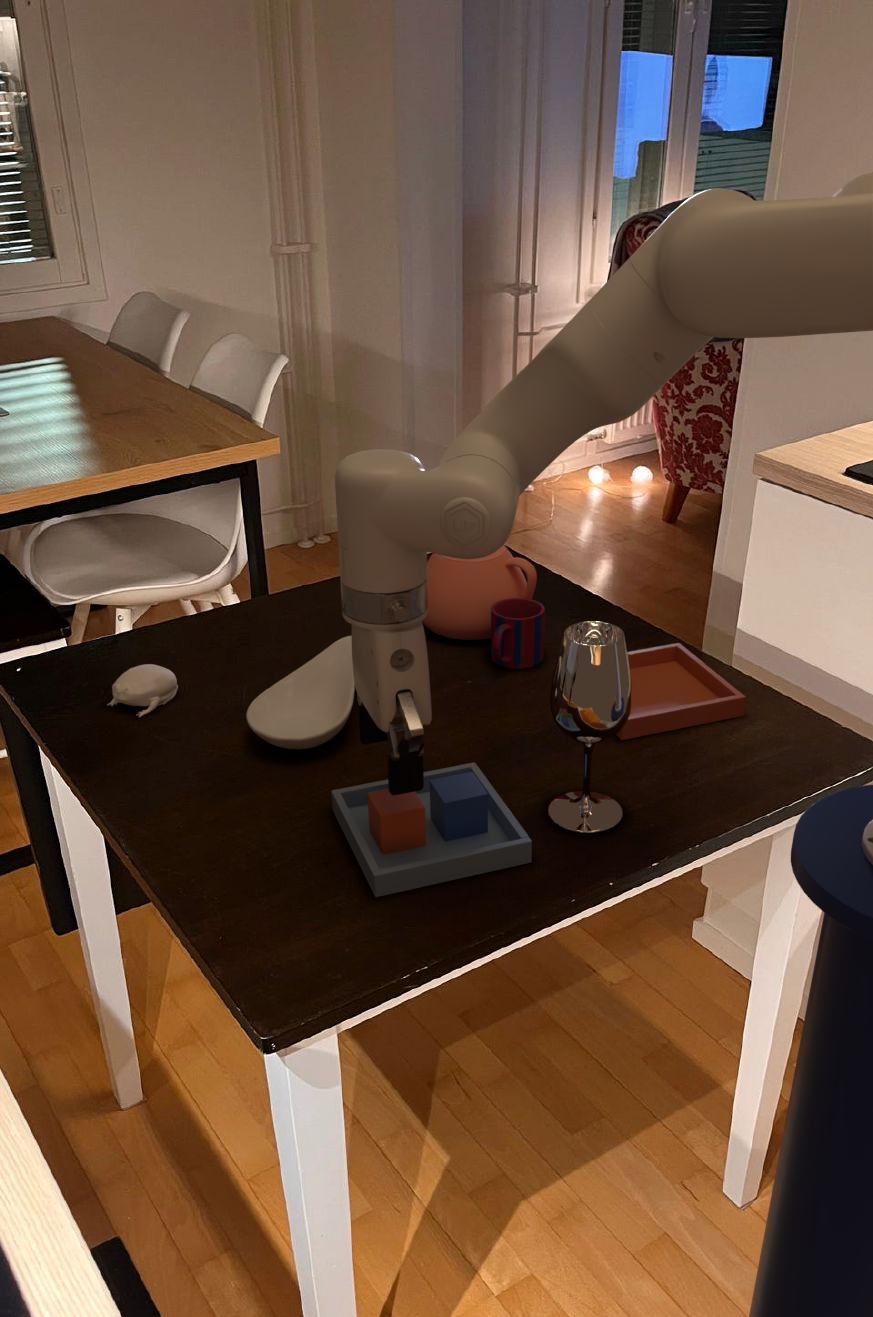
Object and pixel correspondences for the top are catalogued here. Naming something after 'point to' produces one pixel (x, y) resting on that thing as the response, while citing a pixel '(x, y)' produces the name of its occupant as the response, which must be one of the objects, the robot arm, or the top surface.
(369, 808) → the terracotta block
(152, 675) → the frog figurine
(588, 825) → the wineglass
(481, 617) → the teapot
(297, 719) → the spoon rest
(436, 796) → the blue block
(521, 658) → the mug
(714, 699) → the terracotta tray
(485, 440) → the robot arm
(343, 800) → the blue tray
